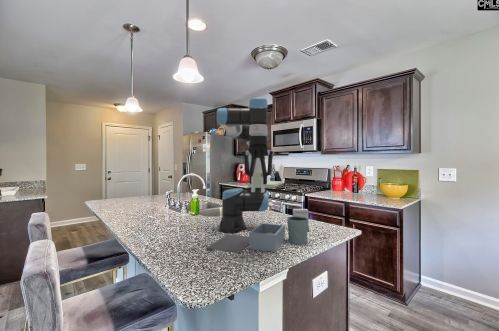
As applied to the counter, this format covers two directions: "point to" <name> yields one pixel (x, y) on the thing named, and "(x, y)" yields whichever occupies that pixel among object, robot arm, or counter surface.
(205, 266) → the counter surface
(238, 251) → the mat
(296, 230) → the teal cup
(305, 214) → the ink box
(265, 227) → the tub
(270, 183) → the lid
